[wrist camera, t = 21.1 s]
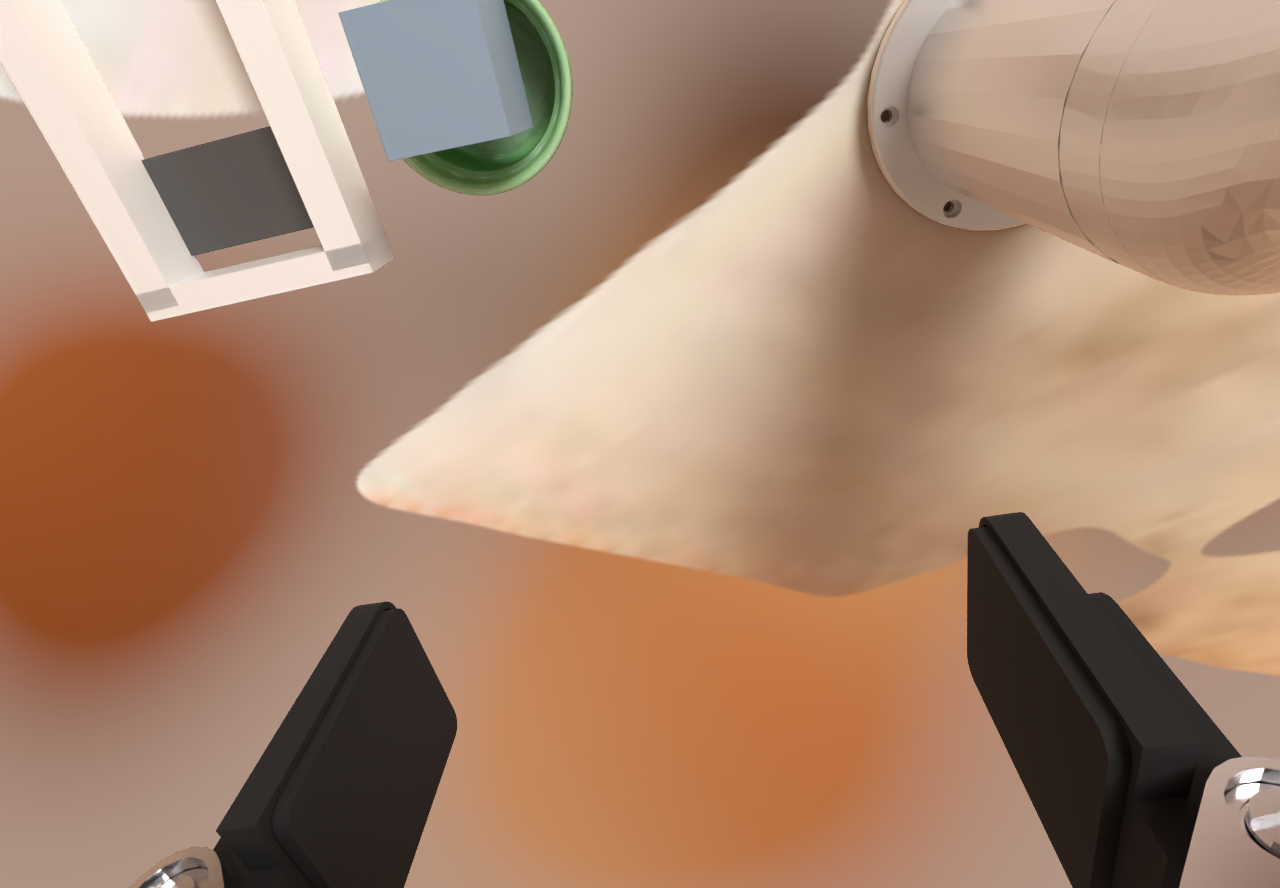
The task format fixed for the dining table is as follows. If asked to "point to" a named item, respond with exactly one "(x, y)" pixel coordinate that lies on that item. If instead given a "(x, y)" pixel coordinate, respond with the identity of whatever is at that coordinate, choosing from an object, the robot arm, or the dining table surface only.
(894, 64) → the robot arm
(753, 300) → the dining table surface
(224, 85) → the dining table surface
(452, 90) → the block
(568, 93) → the ramekin
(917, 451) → the dining table surface
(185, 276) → the channel
